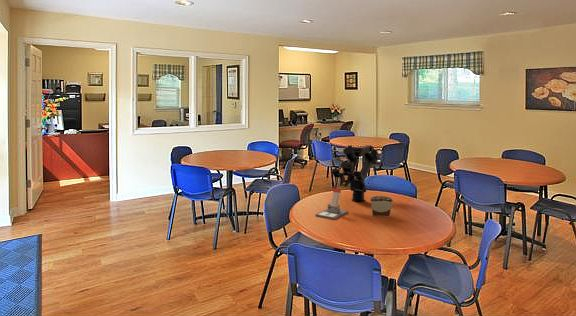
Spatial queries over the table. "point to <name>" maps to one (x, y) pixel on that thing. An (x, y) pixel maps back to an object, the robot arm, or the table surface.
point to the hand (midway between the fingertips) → (342, 186)
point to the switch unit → (331, 213)
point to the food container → (381, 205)
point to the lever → (335, 198)
